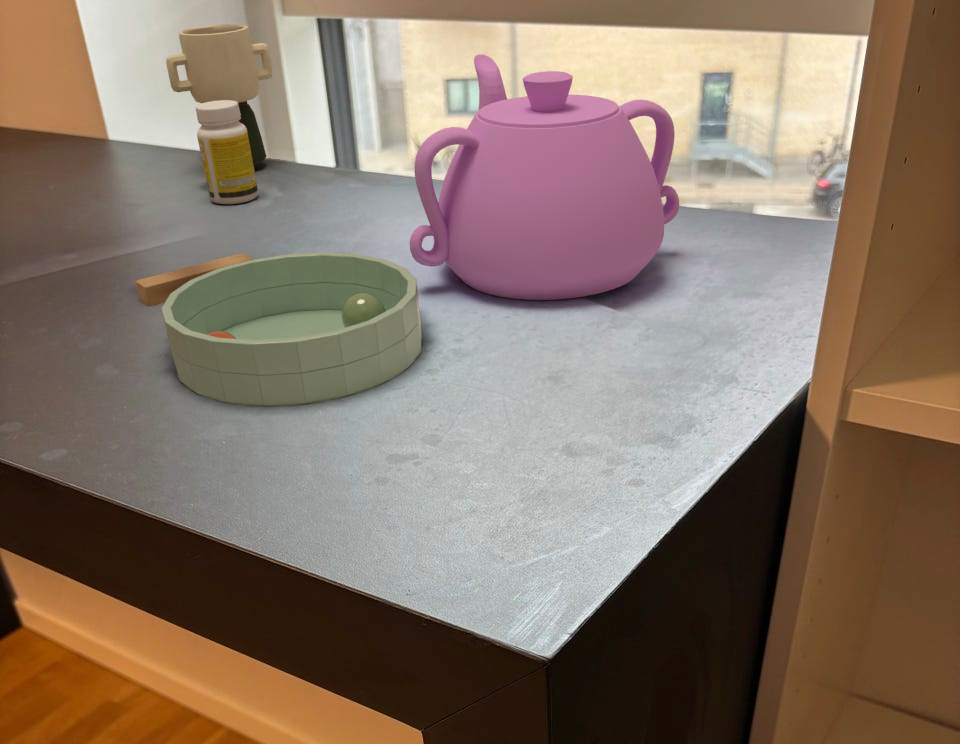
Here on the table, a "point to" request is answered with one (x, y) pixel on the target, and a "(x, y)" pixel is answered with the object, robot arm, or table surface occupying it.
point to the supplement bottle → (225, 153)
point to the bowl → (292, 329)
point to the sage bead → (361, 309)
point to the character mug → (223, 71)
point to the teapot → (546, 191)
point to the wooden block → (179, 279)
